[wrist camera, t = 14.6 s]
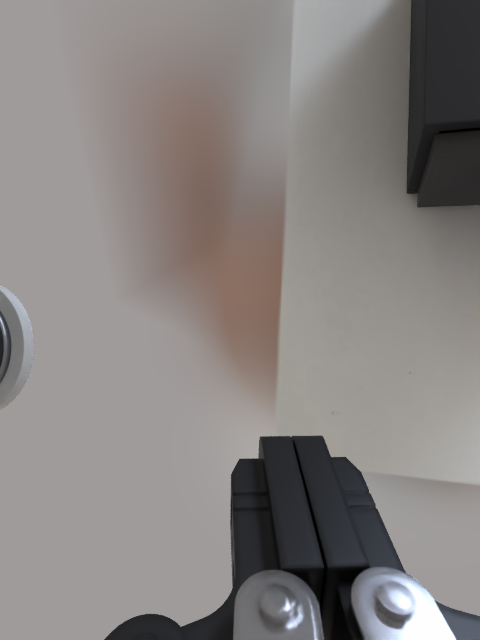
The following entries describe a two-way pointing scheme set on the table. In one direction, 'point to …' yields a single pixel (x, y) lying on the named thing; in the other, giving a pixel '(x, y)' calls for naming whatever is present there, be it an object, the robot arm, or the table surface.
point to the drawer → (452, 170)
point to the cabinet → (441, 76)
